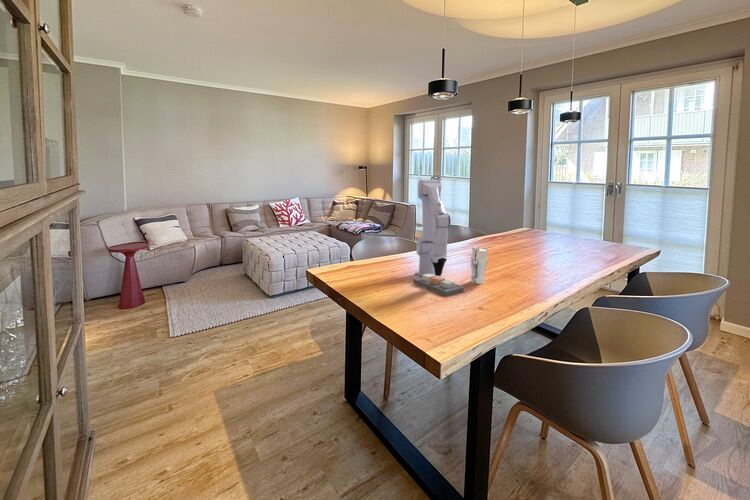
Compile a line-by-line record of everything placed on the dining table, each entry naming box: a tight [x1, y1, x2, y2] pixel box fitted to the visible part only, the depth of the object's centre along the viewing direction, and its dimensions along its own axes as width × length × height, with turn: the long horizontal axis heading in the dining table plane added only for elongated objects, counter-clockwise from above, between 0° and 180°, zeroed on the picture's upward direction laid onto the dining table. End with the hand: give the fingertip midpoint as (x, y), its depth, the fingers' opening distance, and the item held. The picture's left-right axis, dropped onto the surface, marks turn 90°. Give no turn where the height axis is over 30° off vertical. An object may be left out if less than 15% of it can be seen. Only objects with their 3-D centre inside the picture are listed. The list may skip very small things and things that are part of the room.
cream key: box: [421, 274, 437, 282], centre depth 161 cm, size 4×4×2 cm
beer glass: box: [469, 247, 488, 285], centre depth 164 cm, size 7×7×15 cm
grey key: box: [440, 279, 456, 289], centre depth 152 cm, size 4×4×2 cm
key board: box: [412, 276, 465, 297], centre depth 157 cm, size 10×20×2 cm, turn 35°
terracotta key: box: [431, 276, 446, 285], centre depth 157 cm, size 4×4×2 cm
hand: (438, 275), depth 156 cm, fingers closed
